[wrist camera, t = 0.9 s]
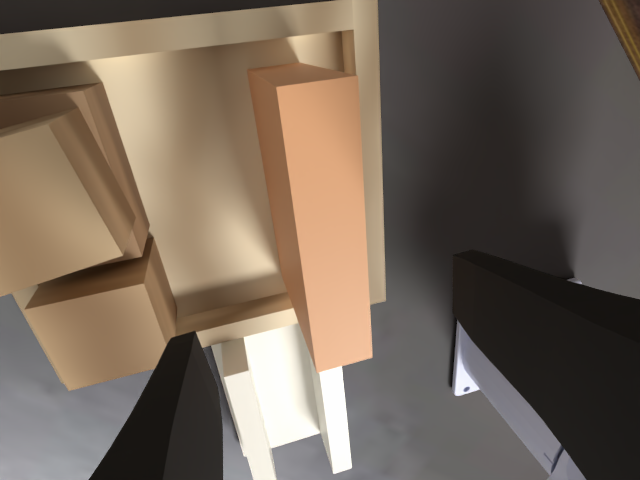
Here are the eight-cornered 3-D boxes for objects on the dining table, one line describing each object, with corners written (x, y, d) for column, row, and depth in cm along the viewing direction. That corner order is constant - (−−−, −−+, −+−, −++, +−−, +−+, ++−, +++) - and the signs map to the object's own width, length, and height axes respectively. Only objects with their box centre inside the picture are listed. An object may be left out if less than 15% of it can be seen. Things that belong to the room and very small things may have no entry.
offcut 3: (153, 237, 18) (143, 283, 15) (177, 307, 20) (173, 363, 17) (57, 256, 17) (23, 309, 14) (91, 328, 19) (68, 390, 16)
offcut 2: (78, 106, 13) (47, 124, 10) (136, 217, 15) (122, 255, 12) (-56, 145, 12) (-123, 173, 10) (22, 253, 14) (-17, 302, 12)
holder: (329, 300, 24) (350, 342, 20) (342, 415, 28) (361, 464, 25) (209, 330, 22) (211, 380, 19) (242, 446, 27) (249, 502, 24)
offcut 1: (102, 81, 15) (83, 90, 13) (150, 225, 18) (142, 256, 15) (-17, 97, 14) (-64, 109, 12) (52, 244, 17) (26, 280, 15)
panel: (299, 62, 17) (357, 75, 11) (322, 267, 21) (372, 357, 15) (246, 69, 16) (276, 86, 10) (282, 276, 21) (316, 373, 15)
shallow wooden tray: (354, 1, 17) (377, -4, 15) (368, 276, 24) (385, 300, 22) (-77, 45, 14) (-127, 47, 12) (76, 347, 21) (62, 383, 18)
